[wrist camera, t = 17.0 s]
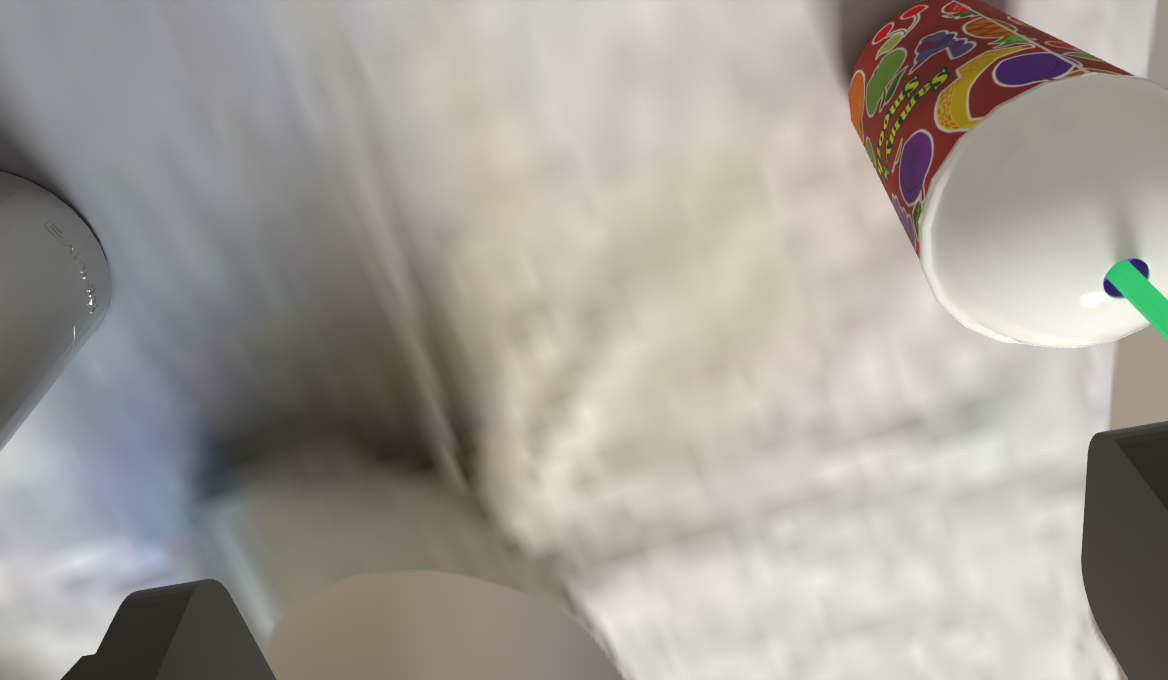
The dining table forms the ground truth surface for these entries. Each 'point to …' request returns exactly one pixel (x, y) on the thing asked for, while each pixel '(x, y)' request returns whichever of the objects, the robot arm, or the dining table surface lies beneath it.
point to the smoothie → (1020, 174)
